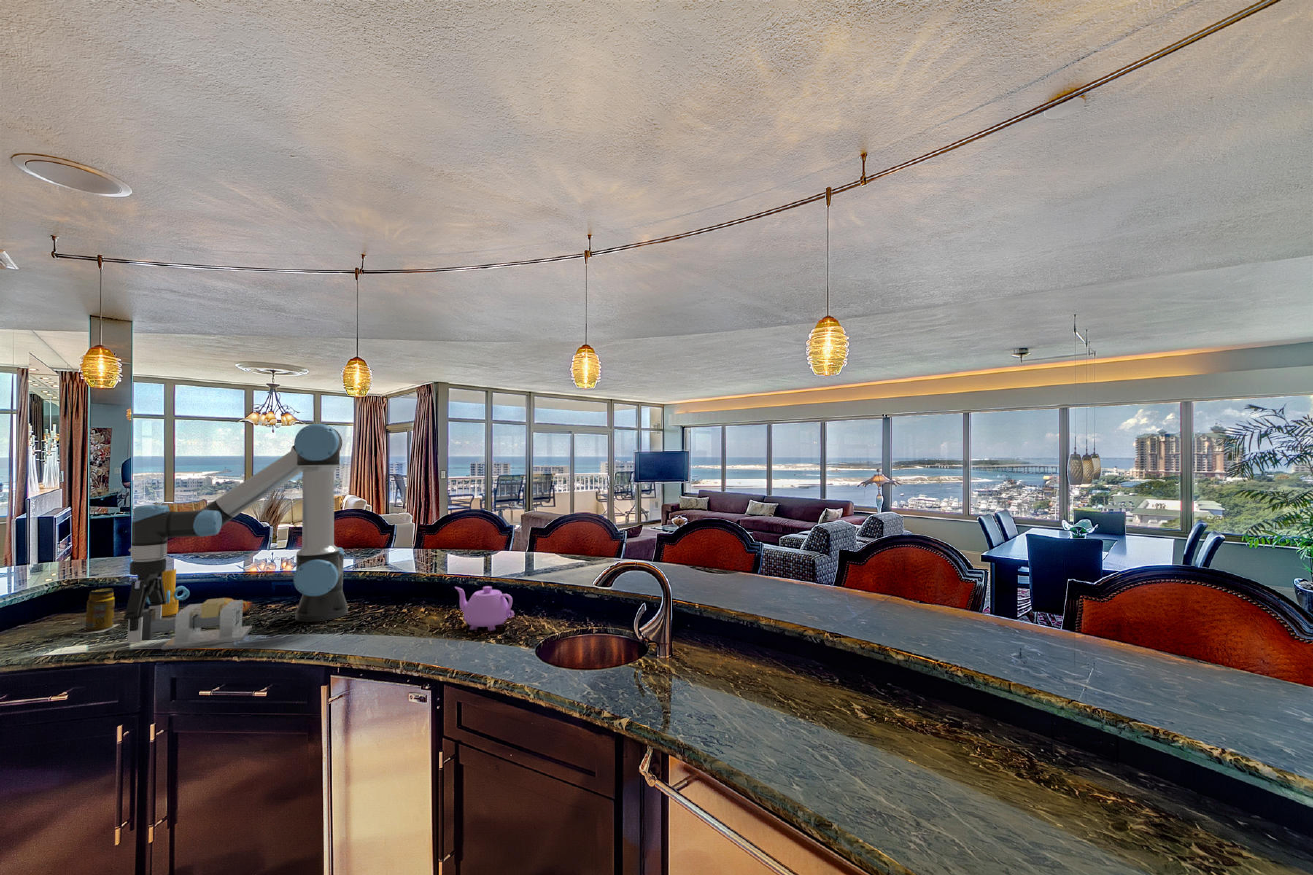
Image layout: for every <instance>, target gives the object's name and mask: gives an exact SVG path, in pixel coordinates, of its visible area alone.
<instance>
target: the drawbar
mask: <svg viewBox="0 0 1313 875" xmlns="http://www.w3.org/2000/svg"><path fill="white" fill-rule="evenodd" d="M155 613H156V609H149V608H147V609H145V608H144V609H143V612H142V615H141V617H143V624H142V641H141V642H143V641H145V642H146V641H150V640H152V639H153V638H154V637H155V633H158V632H160V633H161V632H170V631H171V632H172V631H175V620H176V616H173V617H163V618H162V617H161V619H155ZM238 621H239V611H237V612H236V623H237V622H238ZM218 626H220V615H219V616H218V617H208V618H201V615H195V616H194V617H193V628H199V627H201V628H208V627H218Z"/></svg>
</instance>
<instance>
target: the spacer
mask: <svg viewBox="0 0 1313 875" xmlns="http://www.w3.org/2000/svg"><path fill="white" fill-rule="evenodd" d="M225 598H226V597H220V598H209V599H206V600H205V601H204V602H202V603H201V604H202V605H201V618H208V617H218V616H219V615H220V610H221V609H222V608H223V607H224V603H225Z"/></svg>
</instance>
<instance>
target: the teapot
mask: <svg viewBox="0 0 1313 875" xmlns="http://www.w3.org/2000/svg"><path fill="white" fill-rule="evenodd" d="M454 588H455V590H457V592H458V594H459V608H460V610H461V611H462V613H463V620H464V621H465V622H466V624H468V626H470V627H469V630H470V631H474V630H478V628H479V627H480V628H481V627H482V628H485V627H487V631H489V632H490V631H491V632H493V631H496V629H497V628H496V626H500V625H504V623H505V622H506V620H507V619H508V618H509V619H511V618H513V617H514V616H515V612H514V610H512V609H511V608H512V605H513V597H512V596H511V595H510V594H508V593H502V591H501V590H499V589H493V586H491V585H490V586H489V585H487V586H486V585H485V586H483V587H482V589H481V590H477V591H475V592H474V593H473V594H472V595H471V596H470V598H469V600H468V601H467V599H466V594H465V591H464V589H463V588H461V587H459V586H454ZM506 598H507V599H508V601H507V599H506Z"/></svg>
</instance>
